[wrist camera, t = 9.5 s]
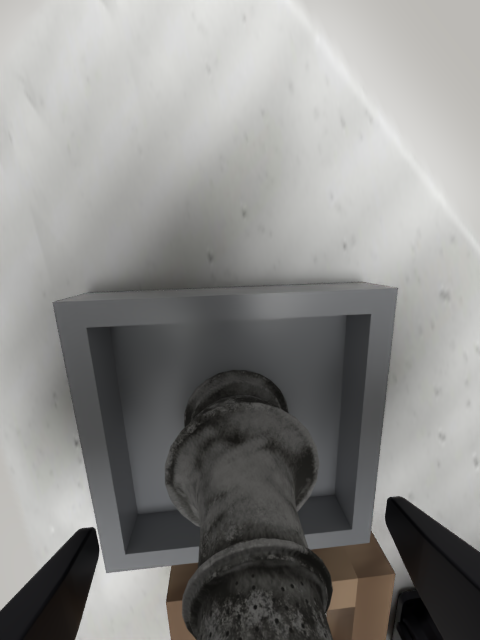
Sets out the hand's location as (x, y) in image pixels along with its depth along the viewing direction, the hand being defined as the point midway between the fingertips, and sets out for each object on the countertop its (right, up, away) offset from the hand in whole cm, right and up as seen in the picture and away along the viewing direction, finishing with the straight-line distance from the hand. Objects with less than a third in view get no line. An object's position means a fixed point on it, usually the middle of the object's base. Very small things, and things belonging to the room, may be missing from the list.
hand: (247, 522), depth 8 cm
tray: (-1, +1, +6) cm, 6 cm away
